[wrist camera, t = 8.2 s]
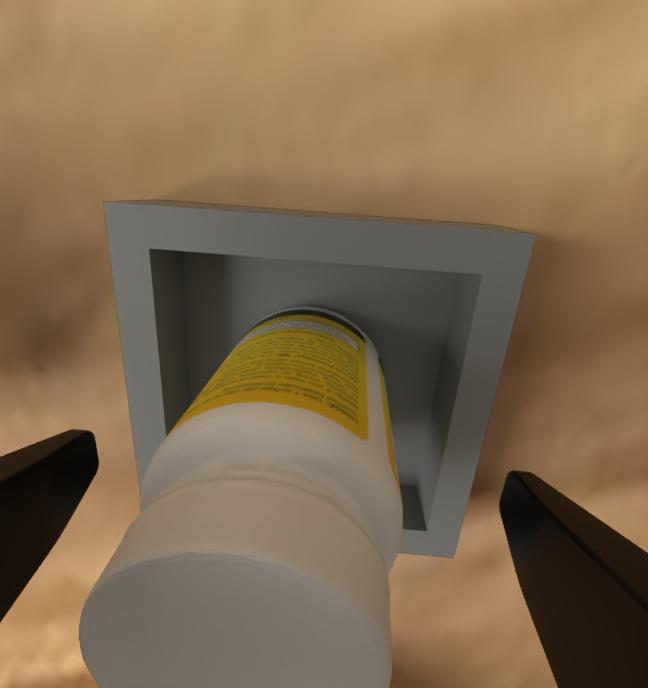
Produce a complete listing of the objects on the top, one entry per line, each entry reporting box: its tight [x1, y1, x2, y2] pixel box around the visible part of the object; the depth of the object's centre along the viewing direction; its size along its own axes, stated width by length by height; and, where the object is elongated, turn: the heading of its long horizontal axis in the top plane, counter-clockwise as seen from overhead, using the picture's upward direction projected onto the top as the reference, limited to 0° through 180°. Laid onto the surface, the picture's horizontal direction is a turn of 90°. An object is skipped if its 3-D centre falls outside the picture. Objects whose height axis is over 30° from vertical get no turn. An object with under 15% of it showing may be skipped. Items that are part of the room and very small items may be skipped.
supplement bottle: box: [79, 306, 403, 688], centre depth 9 cm, size 5×5×8 cm
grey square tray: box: [103, 200, 537, 558], centre depth 12 cm, size 10×10×3 cm
